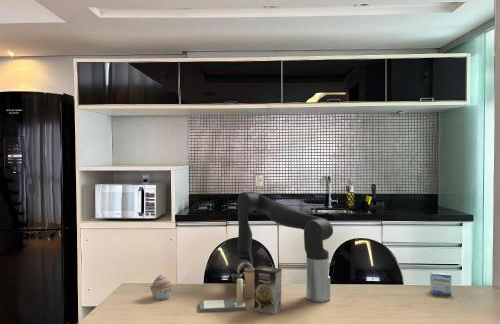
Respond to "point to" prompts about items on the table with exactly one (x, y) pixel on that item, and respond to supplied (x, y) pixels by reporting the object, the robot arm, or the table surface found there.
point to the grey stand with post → (226, 302)
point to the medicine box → (440, 283)
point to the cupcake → (161, 288)
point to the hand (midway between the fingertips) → (250, 282)
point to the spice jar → (249, 282)
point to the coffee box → (267, 289)
